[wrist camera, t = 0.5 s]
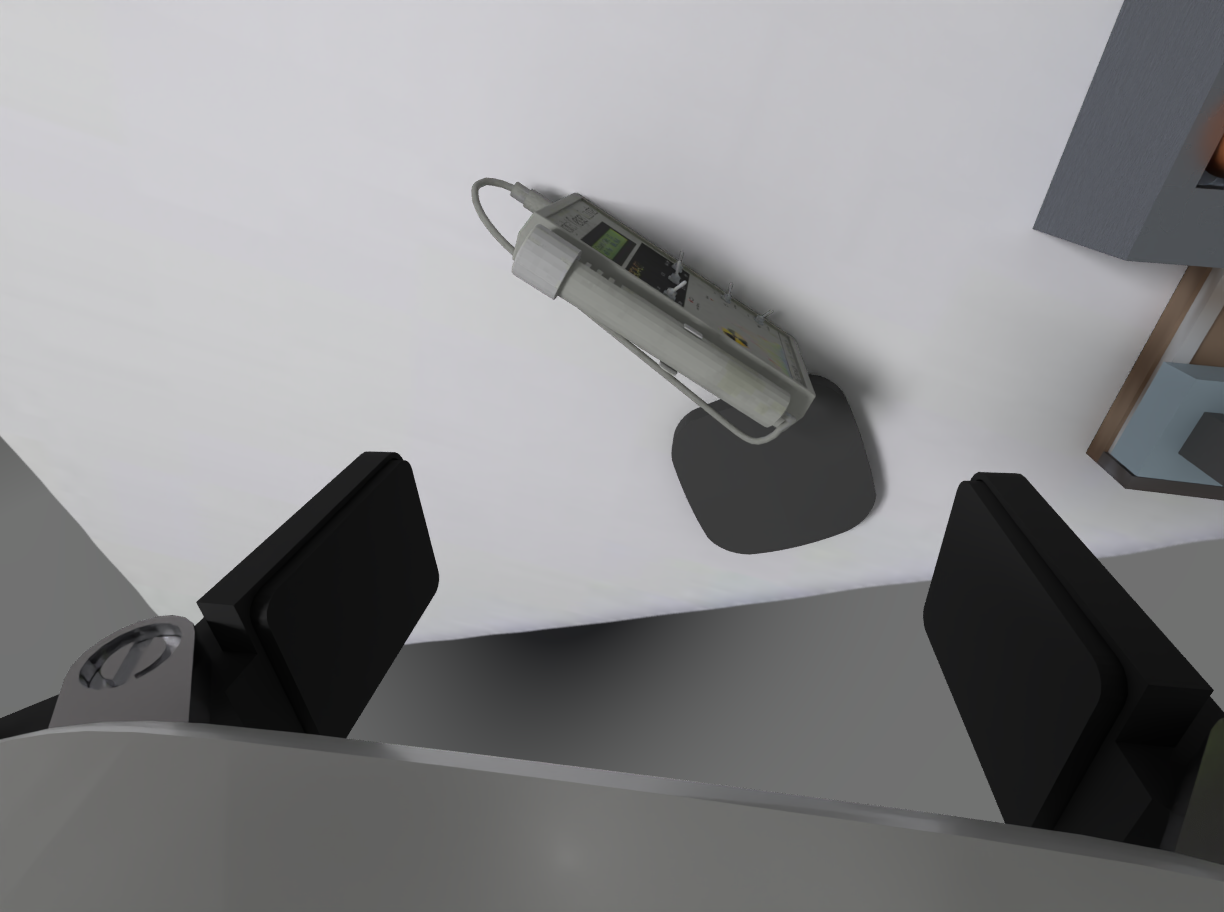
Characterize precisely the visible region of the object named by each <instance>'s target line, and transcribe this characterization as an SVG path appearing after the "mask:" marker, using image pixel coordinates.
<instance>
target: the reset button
mask: <svg viewBox="0 0 1224 912" xmlns="http://www.w3.org/2000/svg"><path fill="white" fill-rule="evenodd" d="M1205 171H1207V172H1208V173H1209V174H1211V175H1213V176H1216V177H1219V178H1224V134H1223V136H1222V138H1221V140H1220V141H1219V143H1218V145H1217V147H1216V149H1215V151H1214V153H1213V155H1212V157H1211V159H1210V161H1209V163H1208V165H1207V166H1206V168H1205Z"/></svg>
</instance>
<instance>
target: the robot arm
mask: <svg viewBox="0 0 1224 912" xmlns="http://www.w3.org/2000/svg"><path fill="white" fill-rule="evenodd" d="M438 584H439V572H438V568H437V564H436V560H435V557H434V553H433V549H432V545H431V541H430V537H429V533H428V529H427V526H426V522H425V518H424V514H423V510H422V506H421V502H420V498H419V495H418V491H417V487H416V483H415V479H414V475H413V471H412V468H411V465H410V464H409V462H407V461H406V460H403V459H402V457H401V456H400V455H399V454H398V453H396V452H364V453H362V454H361V455H360V456H359V457H357V458H356V459H355V460H354V461H353V462H352V463H351V464H350V465H349V466H347V467H346V468H345V469H344V470H343V471H342V472H341V473H340V474H339V475H337V476H336V477H335V478H334V479H333V480H332V481H331V482H330V483H328V484H327V485H326V486H325V487H324V488H323V489H322V490H321V491H320V492H318V493H317V494H316V495H315V496H314V497H313V498H312V499H311V500H310V501H308V502H307V503H306V504H305V505H304V506H303V507H302V508H301V509H300V510H298V511H297V512H296V513H295V514H294V515H293V516H292V517H291V518H289V519H288V520H287V521H286V522H285V523H284V524H283V525H282V526H281V527H279V528H278V529H277V530H276V531H275V532H274V533H273V534H272V535H271V536H269V537H268V538H267V539H266V540H265V541H264V542H263V543H262V544H261V545H259V546H258V547H257V548H256V549H255V550H254V551H253V552H252V553H251V554H249V555H248V556H247V557H246V558H245V559H244V560H243V561H242V562H240V563H239V564H238V565H237V566H236V567H235V568H234V569H233V570H232V571H230V572H229V573H228V574H227V575H226V576H225V577H224V578H223V579H222V580H220V581H219V582H218V583H217V584H216V585H215V586H214V587H213V588H212V589H210V590H209V591H208V592H207V593H206V594H205V595H204V596H203V597H201V598H200V599H199V600H198V601H197V602H196V603H197V605H198V606H199V608H200V610H201V612H202V614H203V616H204V618H203V619H202V620H201V621H200V622H199V623H197V624H196V625H195V626H194V624H193V623H192V622H191V621H189V620H188V619H187V618H185V617H181V616H175V615H168V616H157V617H153V618H149V619H146V620H142V621H138V622H136V623H133V624H131V625H129V626H126V627H124V628H121V629H119V630H117V631H115V632H114V633H112V634H110V635H108V636H107V637H105V638H103V639H101V640H100V641H98V642H97V643H96V644H94V645H93V646H92V647H90V648H89V649H88V650H86V651H85V652H84V653H83V654H82V655H81V656H80V657H79V658H78V659H77V660H76V661H75V662H74V664H72V666H71V667H70V669H69V671H68V673H67V674H66V676H65V678H64V681H63V684H62V687H61V690H60V693H59V695H56V696H54V697H51V698H49V699H47V700H44V701H42V702H39V703H37V704H34V705H32V706H29V707H27V708H24V709H22V710H20V711H17V712H15V713H12V714H10V715H7V716H5V717H2V718H0V912H1224V712H1223V711H1222V710H1221V708H1220V707H1219V706H1218V705H1217V704H1216V703H1215V702H1214V701H1213V699H1212V698H1211V697H1210V695H1211V694H1212V692H1213V691H1214V690H1213V689H1212V688H1211V687H1210V685H1208V683H1207V682H1206V681H1205V680H1204V679H1203V678H1202V677H1201V675H1200V674H1199V673H1198V672H1197V671H1196V670H1195V669H1194V667H1192V665H1191V664H1190V663H1189V662H1188V661H1187V660H1186V658H1185V657H1184V656H1183V655H1182V654H1181V653H1180V652H1179V650H1177V648H1176V647H1175V646H1174V645H1173V644H1172V643H1171V641H1169V639H1168V638H1167V637H1166V636H1165V635H1164V634H1163V632H1162V631H1161V630H1160V629H1159V628H1158V627H1157V626H1156V625H1155V623H1154V622H1153V621H1152V620H1151V619H1150V618H1149V617H1148V616H1147V615H1146V613H1145V612H1144V611H1143V610H1142V609H1141V608H1140V606H1139V605H1138V604H1137V603H1136V602H1135V601H1134V600H1133V599H1132V597H1130V595H1129V594H1128V593H1127V592H1126V591H1125V590H1124V588H1123V587H1122V586H1121V585H1120V584H1119V583H1118V582H1117V581H1116V579H1115V578H1114V577H1113V576H1112V575H1111V574H1110V573H1109V572H1108V571H1107V569H1106V568H1105V567H1104V566H1103V565H1102V564H1101V562H1100V561H1099V560H1098V559H1097V558H1096V557H1095V556H1094V555H1093V553H1092V552H1091V551H1090V550H1089V549H1088V548H1087V547H1086V546H1085V544H1084V543H1083V542H1082V541H1081V540H1080V539H1079V538H1078V537H1077V535H1076V534H1075V533H1074V532H1073V531H1072V530H1071V529H1070V528H1069V526H1068V525H1067V524H1066V523H1065V522H1064V521H1063V520H1062V518H1061V517H1060V516H1059V515H1058V514H1057V513H1056V512H1055V511H1054V509H1053V508H1052V507H1051V506H1050V505H1049V504H1048V503H1047V502H1046V500H1045V499H1044V498H1043V497H1042V496H1041V495H1040V494H1039V493H1038V491H1037V490H1036V489H1035V488H1034V487H1033V486H1032V485H1031V484H1030V482H1029V481H1028V480H1027V479H1026V478H1025V477H1024V476H1023V475H1021V474H1017V473H990V472H978V473H976V474H974V476H973V477H972V478H971V481H963V482H961V483H960V485H959V487H958V489H957V492H956V496H955V499H954V503H953V506H952V510H951V514H950V517H949V521H948V524H947V528H946V531H945V535H944V538H943V542H942V545H941V549H940V553H939V556H938V560H937V563H936V567H935V570H934V574H933V577H932V581H931V584H930V588H929V592H928V595H927V599H926V602H925V606H924V611H923V619H924V626H925V630H926V633H927V635H928V638H929V640H930V643H931V645H932V647H933V650H934V652H935V655H936V657H937V660H938V661H939V664H940V667H941V669H942V671H943V674H944V676H945V679H946V681H947V684H948V686H949V688H950V691H951V693H952V696H953V698H954V701H955V703H956V705H957V708H958V710H959V712H960V715H961V717H962V720H963V722H964V725H965V727H966V730H967V732H968V734H969V737H970V739H971V742H972V744H973V747H974V749H975V751H976V754H977V756H978V758H979V761H980V763H981V766H982V768H983V771H984V773H985V776H986V778H987V780H988V783H989V785H990V788H991V790H992V792H993V795H994V797H995V800H996V802H997V805H998V807H999V809H1000V812H1001V814H1002V817H1003V819H1004V821H1005V824H1004V823H998V822H991V821H984V820H977V819H970V818H964V817H957V816H950V815H943V814H936V813H930V812H923V811H914V810H907V809H900V808H892V807H884V806H876V805H869V804H861V803H854V802H846V801H839V800H831V799H823V798H815V797H808V796H800V795H793V794H786V793H778V792H770V791H763V790H755V789H747V788H739V787H732V786H725V785H716V784H709V783H701V782H693V781H686V780H678V779H670V778H662V777H654V776H646V775H638V774H631V773H622V772H614V771H607V770H599V769H590V768H582V767H575V766H567V765H559V764H551V763H543V762H535V761H527V760H519V759H511V758H503V757H494V756H487V755H479V754H470V753H462V752H454V751H446V750H438V749H429V748H420V747H413V746H404V745H396V744H386V743H379V742H371V741H362V740H354V739H346V738H347V736H348V734H349V733H350V731H351V729H352V728H353V726H354V724H355V723H356V721H357V720H358V718H359V716H360V715H361V713H362V712H363V710H364V708H365V707H366V705H367V703H368V702H369V700H370V699H371V697H372V695H373V694H374V692H375V690H376V689H377V687H378V685H379V684H380V682H381V681H382V679H383V678H384V676H385V674H386V673H387V671H388V669H389V668H390V666H391V665H392V663H393V661H394V659H395V658H396V656H397V654H398V653H399V652H400V650H401V648H402V647H403V645H404V643H405V642H406V640H407V639H408V637H409V635H410V634H411V632H412V630H413V629H414V627H415V626H416V624H417V622H418V621H419V619H420V618H421V616H422V614H423V613H424V611H425V609H426V608H427V606H428V605H429V603H430V601H431V600H432V598H433V596H434V595H435V593H436V591H437V588H438Z"/></svg>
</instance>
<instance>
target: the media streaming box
mask: <svg viewBox="0 0 1224 912" xmlns="http://www.w3.org/2000/svg"><path fill="white" fill-rule="evenodd" d="M808 376H809V378H810V381H811V384H812V387H813V389H814V392H815V395H816V397H815V398H814V400H813V402H812V403H811V405H810V407H809V408H808V410H807V411H806V413H805V415H804V416H803V417H802V418H801V419H800V420H798V421H797V422H796V423H794V424H793V425H792V426H791V427H789V428H788V429H787V430H785V431H784V432H781V434H780V435H779V436H778V437H777V438H775V439H773V440H771V441H770V442H768V443H764V444H760V445H756V444H751V443H748V442H746V441H744V440H743V439H741V438H739V437H738V436H736V435H735V434H734V433H733V432H731V431H730V430H729V429H727V428H726V427H725V426H724V425H722V424H721V423H720V422H719V421H717V420H716V419H715V418H714V417H712V416H711V415H710V414H709V413H707V412H706V411H705V410H704V409H703V408H701V407H700V408H697V409H695V410H693V411H691V412H689V413H688V414H687V415H686V416H685V417H684V418H683V419H682V420H681V421H680V423H679V424H678V426H677V428H676V430H675V433H674V438H673V445H672V461H673V464H674V467H675V470H676V473H677V476H678V478H679V481H680V483H681V486H682V488H683V491H684V493H685V495H686V498H687V500H688V502H689V504H690V506H691V508H692V510H693V512H694V514H695V516H696V518H697V520H698V522H699V523H700V525H701V527H702V529H703V530H704V532H705V534H706V535H707V537H708V538H709V539H710V540H711V541H712V542H713V543H714V544H716V545H718V546H719V547H721V548H723V549H725V550H728V551H731V552H735V553H740V554H758V553H766V552H773V551H779V550H784V549H789V548H793V547H798V546H802V545H806V544H809V543H813V542H816V541H820V540H823V539H826V538H829V537H832V536H835V535H838V534H840V533H843V532H846V531H848V530H850V529H852V528H853V527H855V526H856V525H858V524H859V523H860V522H861V521H862V520H863V519H864V518H865V517H866V516H867V515H868V514H869V512H870V511H871V509H872V507H873V505H874V502H875V497H876V493H875V488H874V483H873V478H872V474H871V470H870V466H869V462H868V459H867V455H866V452H865V449H864V445H863V442H862V439H861V436H860V433H859V430H858V428H857V425H856V422H855V419H854V417H853V414H852V411H851V409H850V406H849V404H848V402H847V400H846V397H845V395H844V394H843V392H842V391H841V390H840V388H839V387H838V386H837V385H835V384H834V383H833V382H831V381H829V380H827V379H825V378H823V377H820V376H816V375H809V374H808ZM708 405H709V406H710V407H712V408H713V409H714V410H715V411H717V412H718V413H719V414H720V415H722V416H723V417H724V418H725V419H727V420H728V421H729V422H730V423H731V424H733V425H734V426H735V427H736V428H738V429H739V430H740V431H742V432H743V433H745V434H747V435H748V436H751V437H753V438H760V437H764V436H767V435H768V434H770V433H772V432H773V431H774V430H775V429H776V427H774V426H773V425H772V426H770V427H768V428H767V427H764V426H763V425H761V424H759V423H758V422H756V421H755V420H753V419H752V418H750V417H748V416H747V415H745V414H744V413H742V412H741V411H739V410H737V409H736V408H734V407H733V406H731V405H730V404H728V403H726V402H725V401H723V400H722V399H720V400H717V401H715V402H712V403H710V404H708Z"/></svg>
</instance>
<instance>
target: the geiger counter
mask: <svg viewBox="0 0 1224 912" xmlns="http://www.w3.org/2000/svg"><path fill="white" fill-rule="evenodd" d="M485 185H492V186H497V187H502V188H504V189H507V190H509V191H511V194H510V195H511V196H512V197H513V198H515V199H516V200H518V201H519V202H521V203H522V204H524V205H523V206H524V207H525V208H526V209H528V210H529V211H531V212H532V213H533V214H532V215H531V217H530V218H529V219H528V221H527V222H526V223H525V225H524V226H523V227H522V229H521V230H520V231H519V233H518V237H517V241H516V245H515V248H514V247H513V246H512V245H511V244H510V243H509V242H508V241H507V240H506V239H505V238H504V237H503V236H502V235H501V234H500V233H499V232H498V231H497V229H496V228H495V227H494V225H493V224H492V223H491V222H490V220H489V219H488V217H487V216H486V214H485V212H484V210H483V208H482V206H481V204H480V201H479V195H478V190H479V189H480V188H481V187H483V186H485ZM471 192H472V201H473V204H474V207H475V210H476V212H477V214H478V216H479V218H480V219H481V221H482V222H483V224H484V225H485V226H486V228H487V229H488V230H489V232H490V233H491V234H492V235H493V237H494V238H495V239H496V240H497V241H498V242H499V243H500V244H501V245H502V246H503V247H504V248H505V249H506V250H507V251H508V252H509V253H511V254H512V255H513V258H512V259H513V260H514V263H513V266H512V273H513V274H514V275H515V276H517V277H518V278H520V279H522V280H523V281H525V282H526V283H528V284H529V285H531V286H533V287H534V288H536V289H537V290H539V291H541V292H542V293H544V294H545V295H547V296H548V297H550V298H552V299H553V300H554V299H555V298H556V297H557V296H560V297H561V298H563V299H564V300H566V301H567V302H569V303H571V304H572V305H574V306H575V307H577V308H578V309H579V310H581V311H582V312H583V313H584V314H586V315H587V316H588V317H589V318H591V319H592V320H593V321H594V322H596V323H597V324H598V325H599V326H601V327H602V328H603V329H604V330H606V331H607V332H608V333H609V334H611V335H612V336H613V337H614V338H615V339H617V340H618V341H619V342H620V343H622V344H623V345H624V346H625V347H627V348H628V349H629V350H630V351H632V352H633V353H634V354H635V355H637V356H638V357H639V358H640V359H642V360H643V361H644V362H645V363H647V364H648V365H649V366H650V367H652V368H653V369H654V370H655V371H657V372H658V373H659V374H660V375H661V376H663V377H664V378H665V379H666V380H668V381H669V382H670V383H671V384H673V385H674V386H675V387H676V388H678V389H679V390H680V391H681V392H683V393H684V394H685V395H686V396H688V397H689V398H690V399H691V400H693V401H694V402H695V403H696V404H698V405H699V406H700V407H701V408H703V409H704V410H705V411H706V412H707V413H709V414H710V415H711V416H712V417H714V418H715V419H716V420H717V421H719V422H720V423H721V424H722V425H724V426H725V427H726V428H727V429H729V430H730V431H731V432H733V433H734V434H735V435H736V436H738V437H739V438H741V439H743V440H744V441H746V442H748V443H751V444H756V445H760V444H764V443H768V442H770V441H771V440H773V439H775V438H777V437H778V436H779V435H780V434H781V432H784V431H785V430H787V429H788V428H789V427H791V426H792V425H793V424H794V423H796V422H797V421H798V420H800V419H801V418H802V417H803V416H804V415H805V413H806V411H807V410H808V408H809V407H810V405H811V403H812V402H813V400H814V398H815V397H816V395H815V392H814V389H813V387H812V384H811V381H810V378H809V376H808V373H807V370H806V368H805V365H804V362H803V359H802V357H801V354H800V351H799V349H798V346H797V343H796V341H795V339H794V338H793V337H792V336H790V335H789V334H787V333H786V332H784V331H783V330H781V329H780V328H778V327H777V326H775V325H774V324H772V323H771V322H769V321H768V320H766V319H765V317H766V316H768V315H770V314H771V313H773V310H770V311H768V312H767V313H766V314H764V315H763V316H760V315H759V314H757V313H756V312H754V311H753V310H751V309H750V308H748V307H747V306H745V305H744V304H742V303H741V302H739V301H738V300H736V299H735V298H733V297H732V296H731V295H730V292H731V289H732V286H733V283H732V282H731V283H730V284H729V289H728V293H726V292H724V291H723V290H721V289H720V288H718V287H717V286H715V285H714V284H712V283H711V282H709V281H708V280H706V279H705V278H703V277H702V276H700V275H699V274H697V273H696V272H694V271H693V270H691V269H690V268H688V267H687V266H685V265H684V264H682V263H681V261H682V257H683V253H684V252H683V251H681V252H680V256H679V261H678V260H676V259H675V258H673V257H672V256H670V255H669V254H667V253H666V252H664V251H663V250H661V249H660V248H658V247H657V246H655V245H654V244H652V243H651V242H649V241H648V240H646V239H645V238H643V237H642V236H640V235H639V234H637V233H636V232H634V231H633V230H631V229H630V228H628V227H627V226H625V225H624V224H622V223H621V222H619V221H618V220H616V219H615V218H613V217H612V216H610V215H609V214H607V213H606V212H604V211H603V210H601V209H600V208H598V207H597V206H595V205H594V204H592V203H591V202H589V201H588V200H586V199H585V198H583V197H582V196H581V195H579V194H577V193H573V194H571V195H569V196H567V197H565V198H562V199H560V200H558V201H556V202H554V203H553V202H552V201H550V200H549V199H547V198H546V197H544V196H543V195H541V194H540V193H538V192H536V191H535V190H533V189H532V190H530V189H528V188H527V187H525V186H524V185H522V184H521V183H519V182H516V183H515V185H513V184H510V183H508V182H505V181H503V180H498V179H494V178H483V179H481V180H478V181H476V182H475V183H474V184H473V186H472V190H471ZM631 342H632V343H634V344H635V345H637V346H638V347H640V348H641V349H643V350H645V351H646V352H648V353H649V354H651V355H652V356H654V357H656V358H657V359H659V360H660V363H659V365H658V364H657V363H656V362H655V361H653V360H652V359H651V358H650V357H649V356H647V355H646V354H645V353H644V352H642V351H641V350H640V349H639V348H637V347H636V346H635V345H634V344H632V343H631ZM677 371H678V372H679V373H681V374H682V375H684V376H685V377H687V378H689V379H690V380H692V381H693V382H695V383H696V384H698V385H700V386H701V387H703V388H704V389H706V390H708V391H709V392H711V393H712V394H714V395H715V396H717V397H719V398H720V399H722V400H723V401H725V402H726V403H728V404H730V405H731V406H733V407H734V408H736V409H737V410H739V411H741V412H742V413H744V414H745V415H747V416H748V417H750V418H752V419H753V420H755V421H756V422H758V423H759V424H761V425H763V426H764V427H767V428H768V427H770V426H772V425H773V426H774V427H776V429H775V430H774V431H773V432H772V433H770V434H768V435H767V436H764V437H760V438H753V437H751V436H748V435H747V434H745V433H743V432H742V431H740V430H739V429H738V428H736V427H735V426H734V425H733V424H731V423H730V422H729V421H728V420H727V419H725V418H724V417H723V416H722V415H720V414H719V413H718V412H717V411H715V410H714V409H713V408H712V407H710V406H709V405H708V404H707V403H706V402H704V401H703V400H702V399H701V398H699V397H698V396H697V395H696V394H694V393H693V392H692V391H691V390H689V389H688V388H687V387H686V386H684V385H683V384H682V383H681V382H679V381H678V380H677V379H676V378H675V377H673V376H674V375H676V374H677ZM672 375H673V376H672Z"/></svg>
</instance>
